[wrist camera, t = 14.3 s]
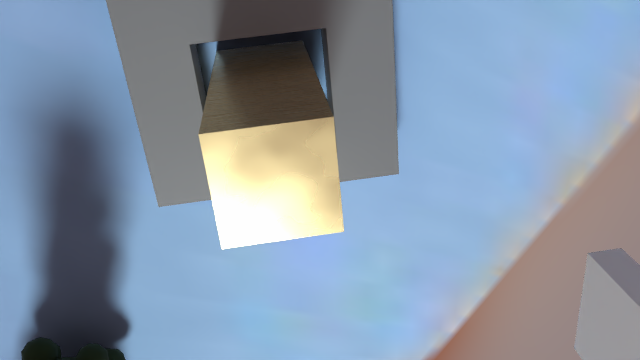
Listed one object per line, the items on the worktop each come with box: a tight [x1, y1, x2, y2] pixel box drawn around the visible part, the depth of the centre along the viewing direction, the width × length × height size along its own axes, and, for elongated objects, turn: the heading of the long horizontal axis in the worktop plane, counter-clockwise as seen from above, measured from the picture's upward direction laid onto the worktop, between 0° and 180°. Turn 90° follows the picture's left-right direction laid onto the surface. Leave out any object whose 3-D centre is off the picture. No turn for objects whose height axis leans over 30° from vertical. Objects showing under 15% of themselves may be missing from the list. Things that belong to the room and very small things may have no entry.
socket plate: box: [106, 0, 399, 207], centre depth 27 cm, size 13×19×2 cm
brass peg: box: [198, 40, 344, 249], centre depth 25 cm, size 4×4×12 cm
